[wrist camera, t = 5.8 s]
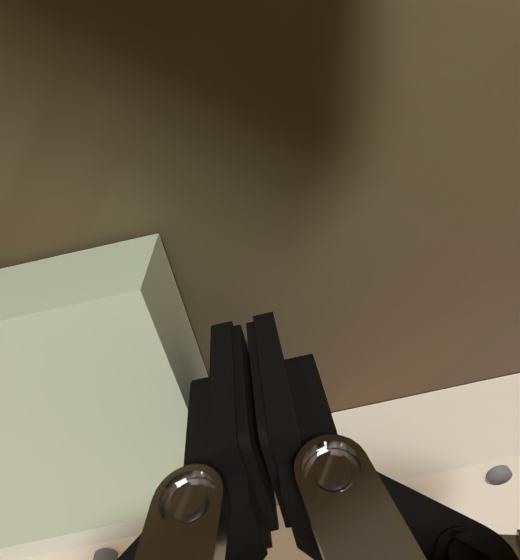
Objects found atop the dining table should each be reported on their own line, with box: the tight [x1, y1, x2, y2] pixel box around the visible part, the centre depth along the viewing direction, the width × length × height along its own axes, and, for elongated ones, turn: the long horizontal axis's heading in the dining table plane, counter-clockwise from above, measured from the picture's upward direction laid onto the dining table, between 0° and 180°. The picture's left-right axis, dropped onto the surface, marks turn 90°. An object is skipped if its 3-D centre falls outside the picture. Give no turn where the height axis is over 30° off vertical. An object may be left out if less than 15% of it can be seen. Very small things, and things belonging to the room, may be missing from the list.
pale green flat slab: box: [0, 233, 208, 549], centre depth 12 cm, size 8×7×3 cm
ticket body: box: [0, 373, 520, 560], centre depth 16 cm, size 22×8×3 cm, turn 102°
